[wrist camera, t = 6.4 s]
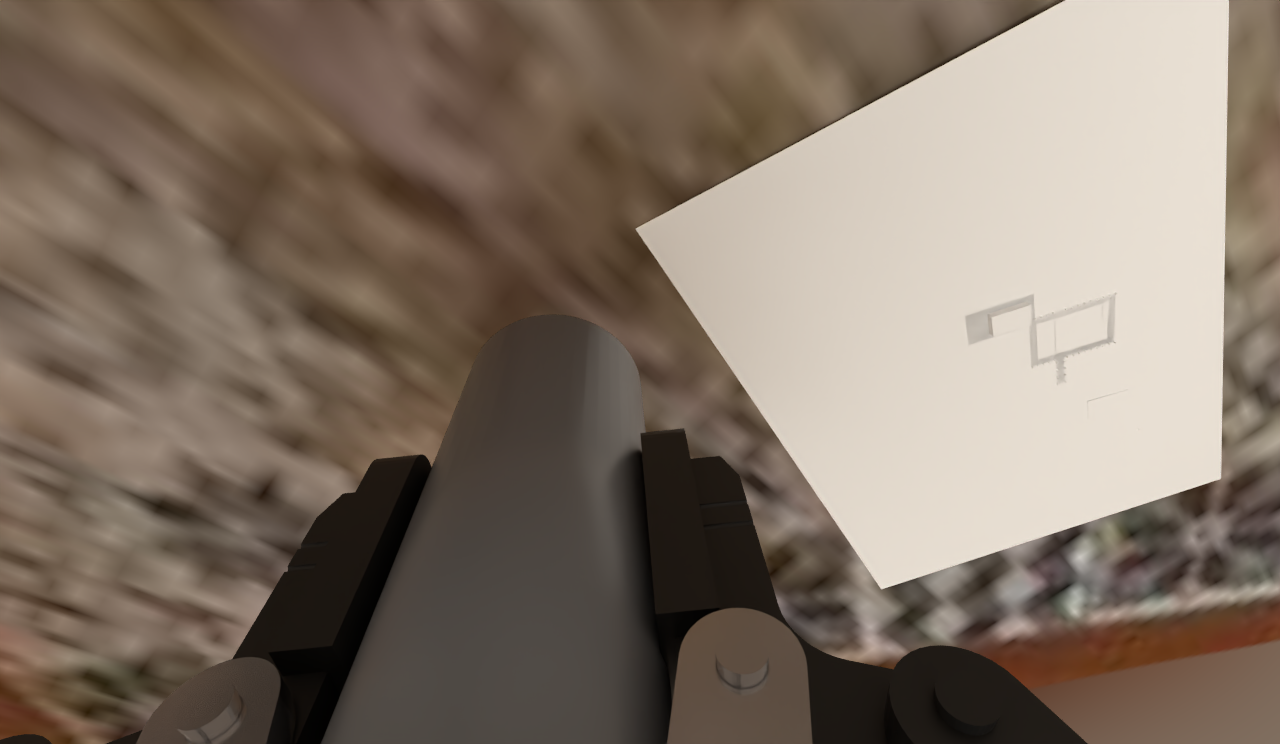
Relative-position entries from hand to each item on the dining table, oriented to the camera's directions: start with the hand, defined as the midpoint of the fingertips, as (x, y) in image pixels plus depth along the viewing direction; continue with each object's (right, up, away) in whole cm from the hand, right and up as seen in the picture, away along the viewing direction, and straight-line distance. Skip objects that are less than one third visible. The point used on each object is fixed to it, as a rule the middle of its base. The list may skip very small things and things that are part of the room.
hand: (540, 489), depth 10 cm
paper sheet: (+9, +1, +14) cm, 17 cm away
